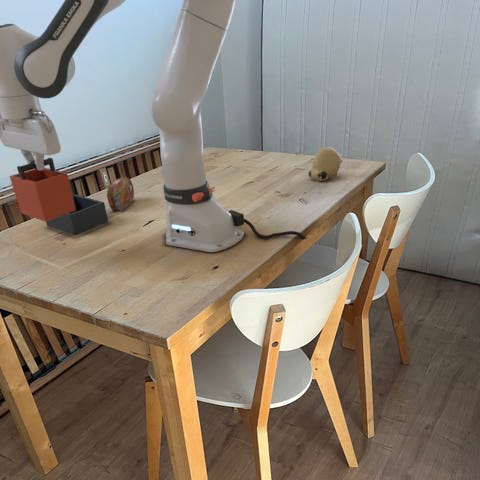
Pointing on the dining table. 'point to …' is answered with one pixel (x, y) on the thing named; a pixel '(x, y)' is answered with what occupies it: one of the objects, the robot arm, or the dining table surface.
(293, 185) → the dining table surface
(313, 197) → the dining table surface
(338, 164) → the beige plush toy
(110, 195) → the tin
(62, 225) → the slate bin
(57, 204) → the terracotta bin
